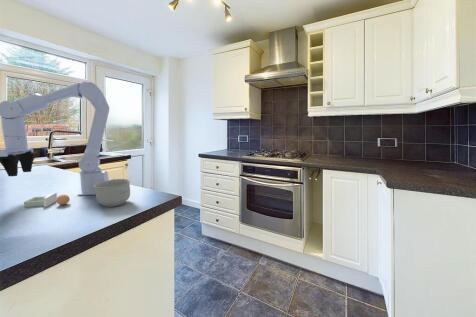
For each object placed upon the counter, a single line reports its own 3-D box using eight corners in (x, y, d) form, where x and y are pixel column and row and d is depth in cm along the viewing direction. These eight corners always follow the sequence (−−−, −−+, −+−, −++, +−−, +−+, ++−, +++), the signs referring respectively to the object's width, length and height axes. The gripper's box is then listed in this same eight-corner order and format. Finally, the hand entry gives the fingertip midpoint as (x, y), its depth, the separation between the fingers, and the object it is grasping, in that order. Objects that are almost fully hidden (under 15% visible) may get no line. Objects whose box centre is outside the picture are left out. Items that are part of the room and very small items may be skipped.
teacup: (127, 207, 74) (126, 184, 72) (90, 210, 70) (88, 186, 69) (134, 195, 87) (133, 176, 86) (103, 197, 84) (102, 177, 83)
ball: (71, 202, 78) (71, 192, 78) (67, 205, 75) (66, 195, 74) (60, 203, 77) (58, 193, 77) (54, 206, 74) (53, 196, 73)
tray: (53, 200, 80) (53, 195, 80) (45, 205, 75) (44, 200, 75) (34, 201, 79) (34, 197, 78) (24, 207, 73) (23, 202, 73)
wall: (57, 200, 80) (56, 192, 80) (46, 206, 74) (45, 198, 73) (54, 200, 80) (53, 192, 80) (43, 206, 73) (42, 198, 73)
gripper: (15, 136, 83) (20, 170, 85) (-17, 137, 70) (-10, 178, 71) (37, 135, 85) (42, 169, 87) (11, 137, 71) (16, 177, 73)
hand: (20, 173), depth 79 cm, fingers open, 7 cm apart
